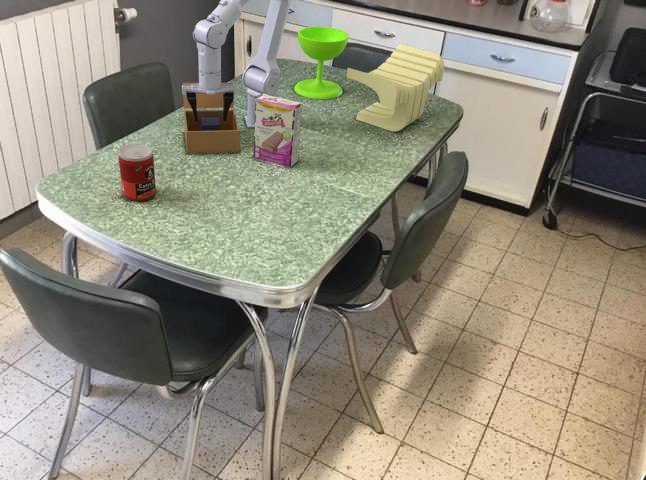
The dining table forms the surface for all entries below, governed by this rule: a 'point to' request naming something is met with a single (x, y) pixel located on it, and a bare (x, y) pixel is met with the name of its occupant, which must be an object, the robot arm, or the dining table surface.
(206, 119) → the cube
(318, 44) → the wineglass
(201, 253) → the dining table surface
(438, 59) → the slatted curved stool
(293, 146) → the candy bar box
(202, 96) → the flap
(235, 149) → the carton
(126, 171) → the canned food
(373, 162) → the dining table surface
